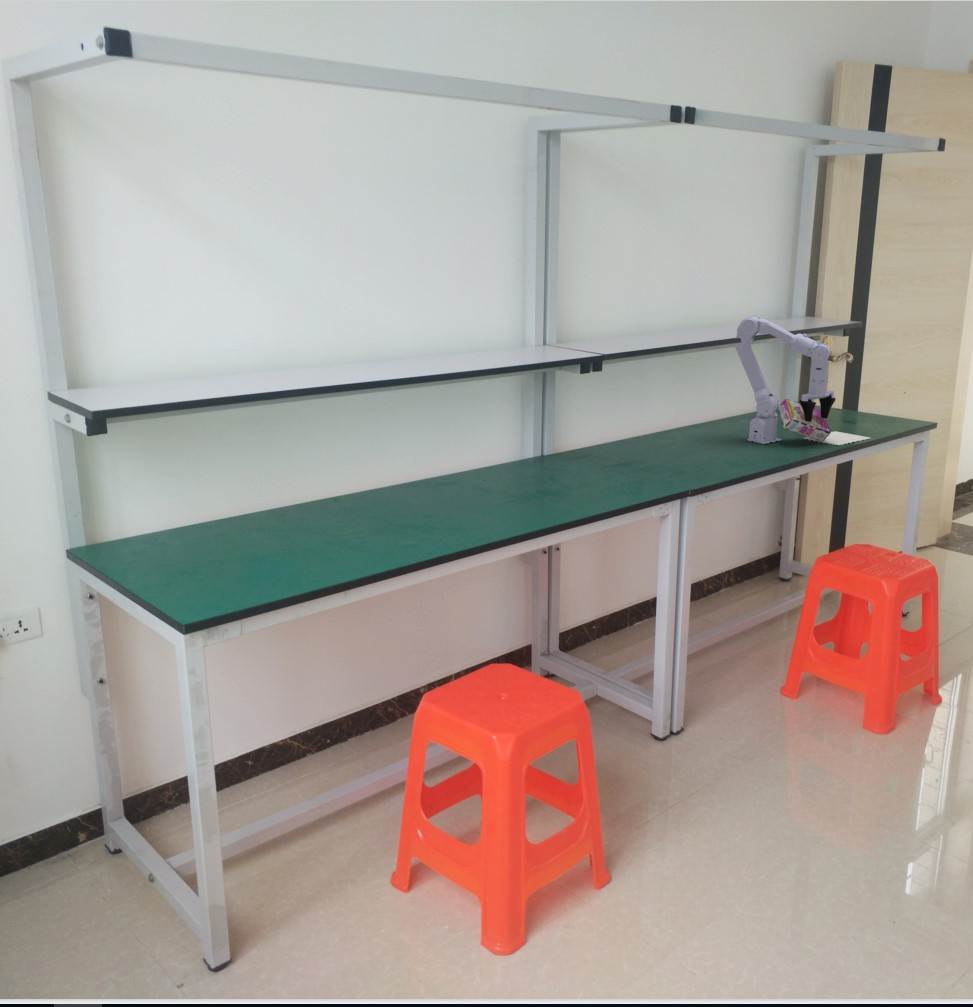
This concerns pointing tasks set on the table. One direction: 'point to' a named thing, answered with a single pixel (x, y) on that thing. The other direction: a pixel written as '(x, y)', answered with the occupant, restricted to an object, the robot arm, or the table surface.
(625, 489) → the table surface
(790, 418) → the candy bar box
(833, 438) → the mat
